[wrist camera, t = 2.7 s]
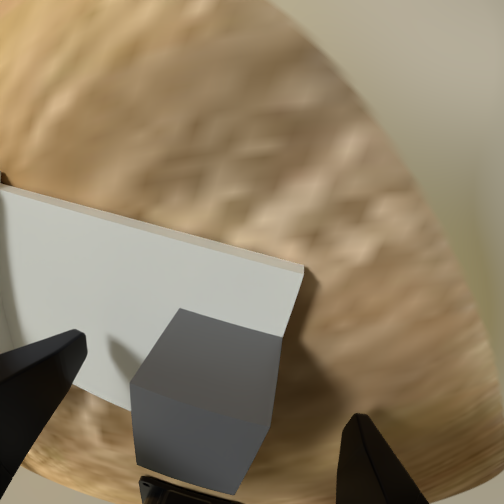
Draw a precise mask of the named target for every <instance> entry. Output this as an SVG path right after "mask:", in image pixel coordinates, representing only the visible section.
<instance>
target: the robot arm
mask: <svg viewBox="0 0 504 504" xmlns="http://www.w3.org/2000/svg"><path fill="white" fill-rule="evenodd" d="M87 354H88V349H87V341H86V335H85V333H84V332H81V331H79V330H77V329H72V330H69V331H66V332H63V333H60V334H57V335H54V336H51V337H48V338H46V339H43V340H40V341H37V342H34V343H31V344H28V345H25V346H22V347H19V348H16V349H13V350H10V351H7V352H5V353H2V354H0V499H1V498H2V496H3V494H4V492H5V491H6V489H7V487H8V485H9V484H10V482H11V480H12V477H13V476H14V475H15V473H16V471H17V470H18V468H19V466H20V465H21V463H22V461H23V460H24V458H25V457H26V455H27V453H28V452H29V450H30V449H31V447H32V445H33V444H34V442H35V441H36V439H37V437H38V436H39V434H40V433H41V431H42V430H43V428H44V427H45V425H46V424H47V422H48V421H49V419H50V418H51V416H52V415H53V413H54V412H55V410H56V409H57V407H58V406H59V404H60V403H61V401H62V400H63V398H64V397H65V395H66V394H67V392H68V391H69V389H70V387H71V385H72V383H73V381H74V379H75V378H76V376H77V374H78V372H79V370H80V368H81V367H82V365H83V363H84V361H85V359H86V357H87ZM139 487H140V493H141V499H142V504H235V503H231V502H227V501H222V500H218V499H214V498H211V497H207V496H203V495H200V494H196V493H193V492H190V491H186V490H183V489H180V488H177V487H174V486H171V485H168V484H165V483H162V482H160V481H157V480H154V479H152V478H149V477H146V476H141V478H140V480H139ZM336 504H429V503H428V501H427V500H426V498H425V497H424V495H423V494H422V493H420V490H419V488H418V487H417V485H416V484H415V483H414V481H413V480H412V478H411V477H410V475H409V474H408V472H407V471H406V470H405V468H404V467H403V465H402V464H401V462H400V461H399V459H398V458H397V457H396V455H395V454H394V452H393V451H392V449H391V448H390V446H389V445H388V443H387V442H386V441H385V439H384V438H383V436H382V435H381V433H380V432H379V430H378V429H377V428H376V426H375V425H374V423H373V422H372V420H371V419H370V418H369V416H368V415H366V414H360V413H355V414H354V415H353V416H352V417H351V419H350V420H349V422H348V423H347V424H346V426H345V427H344V429H343V432H342V438H341V446H340V454H339V462H338V469H337V485H336Z"/></svg>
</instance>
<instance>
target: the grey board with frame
mask: <svg viewBox="0 0 504 504" xmlns="http://www.w3.org/2000/svg"><path fill="white" fill-rule="evenodd" d="M303 276H304V265H302V264H298V263H294V262H291V261H287V260H283V259H279V258H276V257H272V256H268V255H265V254H261V253H257V252H254V251H250V250H246V249H242V248H239V247H235V246H231V245H228V244H224V243H220V242H217V241H213V240H209V239H205V238H202V237H198V236H194V235H191V234H187V233H183V232H180V231H176V230H172V229H168V228H165V227H161V226H157V225H154V224H150V223H146V222H142V221H139V220H135V219H131V218H128V217H124V216H120V215H116V214H113V213H109V212H105V211H102V210H98V209H94V208H91V207H87V206H83V205H79V204H76V203H72V202H68V201H64V200H61V199H57V198H53V197H50V196H46V195H42V194H38V193H35V192H31V191H27V190H24V189H20V188H16V187H12V186H9V185H5V184H1V171H0V354H2V353H5V352H7V351H10V350H13V349H16V348H19V347H22V346H25V345H28V344H31V343H34V342H37V341H40V340H43V339H46V338H48V337H51V336H54V335H57V334H60V333H63V332H66V331H69V330H72V329H77V330H79V331H81V332H84V333H85V335H86V341H87V349H88V354H87V357H86V359H85V361H84V363H83V365H82V367H81V368H80V370H79V372H78V374H77V376H76V378H75V379H74V381H73V383H72V384H74V385H76V386H78V387H80V388H82V389H84V390H86V391H88V392H90V393H92V394H94V395H96V396H98V397H100V398H102V399H104V400H106V401H109V402H111V403H113V404H115V405H118V406H120V407H122V408H124V409H127V410H129V411H131V414H132V426H133V436H134V445H135V454H136V462H137V465H139V466H142V467H144V468H147V469H149V470H152V471H155V472H157V473H160V474H163V475H166V476H168V477H171V478H174V479H177V480H180V481H183V482H187V483H190V484H193V485H196V486H200V487H203V488H207V489H211V490H214V491H218V492H222V493H226V494H230V495H235V493H236V491H237V489H238V488H239V486H240V484H241V482H242V480H243V479H244V477H245V475H246V473H247V471H248V469H249V467H250V466H251V464H252V462H253V460H254V458H255V456H256V454H257V452H258V450H259V448H260V446H261V444H262V442H263V440H264V438H265V436H266V434H267V432H268V430H269V428H270V425H271V418H272V411H273V405H274V398H275V391H276V384H277V376H278V369H279V361H280V354H281V346H282V338H283V335H284V332H285V329H286V326H287V323H288V320H289V318H290V315H291V312H292V309H293V306H294V303H295V300H296V297H297V294H298V291H299V288H300V285H301V282H302V279H303Z"/></svg>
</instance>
